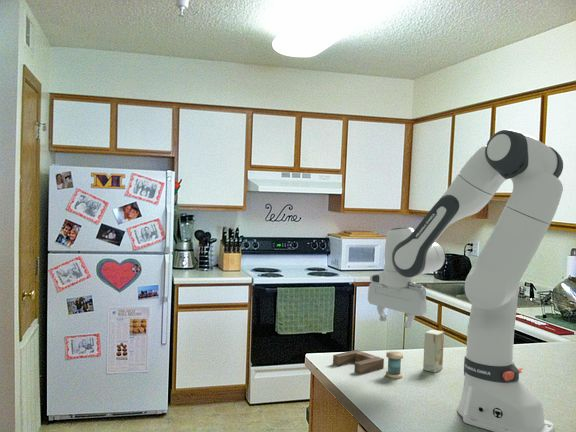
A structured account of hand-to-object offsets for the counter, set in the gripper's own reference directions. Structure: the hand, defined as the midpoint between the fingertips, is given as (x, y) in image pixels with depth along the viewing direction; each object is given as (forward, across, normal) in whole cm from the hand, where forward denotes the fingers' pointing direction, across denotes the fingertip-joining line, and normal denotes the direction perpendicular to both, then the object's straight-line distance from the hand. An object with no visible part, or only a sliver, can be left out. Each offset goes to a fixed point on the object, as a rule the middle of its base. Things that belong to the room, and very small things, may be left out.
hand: (394, 324), depth 162 cm
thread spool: (+16, -1, 0) cm, 16 cm away
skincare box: (+16, -4, -16) cm, 23 cm away
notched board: (+16, +12, +2) cm, 20 cm away
